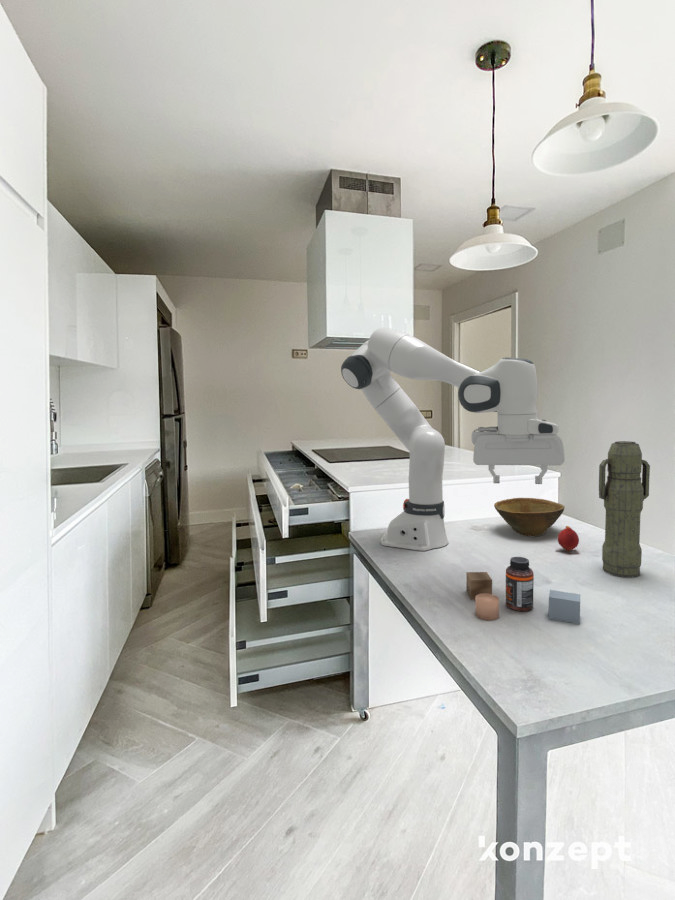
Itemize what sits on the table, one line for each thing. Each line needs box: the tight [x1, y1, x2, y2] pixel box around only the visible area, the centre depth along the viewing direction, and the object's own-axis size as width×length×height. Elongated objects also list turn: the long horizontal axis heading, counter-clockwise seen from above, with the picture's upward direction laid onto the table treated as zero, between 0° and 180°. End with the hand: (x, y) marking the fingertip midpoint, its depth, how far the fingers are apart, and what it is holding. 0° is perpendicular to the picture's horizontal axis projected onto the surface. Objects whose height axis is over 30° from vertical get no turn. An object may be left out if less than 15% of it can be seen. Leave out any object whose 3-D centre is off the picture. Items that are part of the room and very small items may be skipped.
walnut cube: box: [465, 571, 493, 601], centre depth 111 cm, size 5×5×5 cm
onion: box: [557, 525, 580, 552], centre depth 139 cm, size 6×6×8 cm
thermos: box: [598, 440, 651, 579], centre depth 120 cm, size 9×12×35 cm
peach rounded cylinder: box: [474, 593, 500, 621], centre depth 101 cm, size 5×5×4 cm
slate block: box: [548, 589, 581, 625], centre depth 99 cm, size 6×4×5 cm, turn 61°
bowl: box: [493, 497, 565, 537], centre depth 159 cm, size 22×23×10 cm
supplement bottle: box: [505, 556, 535, 612], centre depth 104 cm, size 6×6×11 cm
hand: (517, 483), depth 109 cm, fingers open, 8 cm apart
